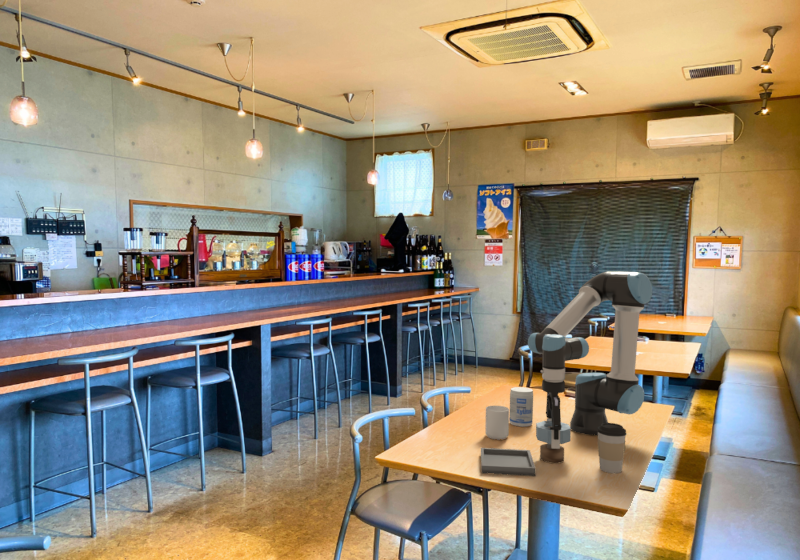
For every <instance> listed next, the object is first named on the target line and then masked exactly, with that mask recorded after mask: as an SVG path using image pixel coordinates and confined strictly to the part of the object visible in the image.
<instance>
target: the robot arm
mask: <svg viewBox="0 0 800 560" xmlns="http://www.w3.org/2000/svg"><path fill="white" fill-rule="evenodd" d="M652 296H653V286H652V282H651V279H649V277H648V276H647V274H645V273H643V272H637V271H611V270H609V271H603V272H601V273H599V274H597V275H595V276H593V277H592V278H590V279H589V280H588V281H586V282H585V283H584V284H583V285H582V286H581V287H580V288H579V290H578V294H577V295H576V296H574V298H573V299H571V301H570V302H569V303H568V304H567V305H565V307H564V308H563V309H562V310H561V312H559V313H558V315H557V316H555V318H554V319H553V320H552V321H551V322H550V323H549V324H548V325H547V326H546V327H544V329H543V330H542V331H541V332H533V333H531V334H530V335H529V336H528V339H527V347H528V349H529V350H530V351H531V353H532V352H533V353H535V354H539V355H542V364H541V365H542V369H541V370H540V373H541V374H542V375H541V376H542V379H543V380H542V381H541V382H542V383H541V387H542V389H541V390H542V391H543V392H544V393H546V407H545V415H546V421H552V427H550V430H551V448H554V449H560V446H561V444H560V430H561V422H562V419H561V418H562V417H561V397H560V396H559V394H561V393H564V392H565V390H566V382H565V381H564V380H565V379H566V362H568V361H573V360H580V359H583V358H585V357H586V356H587V355H588V354H589V352H590V345H589V343H588V341H587V340H586V339H585V338H584V337H580V336H578V337H577V336H574V337H567V336H568V335H569V334H570V332H571V331H572V330H573V329H574V328H575V327H576V326H577V325H578V324H579V323H580V322H581V321H582V320H583V319H584V317H585V316H587V314H588V313H589V312H590V311H591V310H592V309H593V308H594V307H597V306H599V305H600V304H601V303H603V302H606V301H609V302H610V301H611V306H612V308H613V309H615V316H614V327H613V328H614V329H613V340H612V351H611V352H612V353H611V367H610V372H609V373H607V374H606V373H604V372H583V373H579V374H577V375H576V377H575V384H574V387H575V388H574V389H575V390H574V399H575V400H574V411H573V413H572V417H571V419H570V422H569V426H570V428H571V431H573V432H574V433H577V434H580V435H581V434H582V435H586V436H598V431H597V430H598V427H599V426H601V424H603V423H609V420H608V418H607V414H606V410H610V411H613V412H617V413H619V414H623V415H624V414H626V415H633V414H636V413H637V412H638V411H639V409H641V408H642V405H643V403H644V398H645V390H644V388H643V386H641V384H639V381H640V379H639V378H638V377H637V376H636V365H637V364H636V361H637V349H638V338H639V337H638V336H639V323H640V313H641V311H643V310H644V309H645V304H647V303H649V302H650V301H651V298H652ZM555 425H558V426H555Z"/></svg>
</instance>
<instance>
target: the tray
mask: <svg viewBox="0 0 800 560" xmlns="http://www.w3.org/2000/svg"><path fill="white" fill-rule="evenodd" d="M480 465H481V466H480V467H481V474H488V473H494V474H493V475H507V474H508V475H511V476H525V477H526V476H527V477H528V476H529V477H536V465H535V462H534V459H533V457H532V452H531V450H530V449H515V448H513V449H511V448H496V447H495V448H493V447H491V448H490V447H480Z"/></svg>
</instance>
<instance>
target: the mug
mask: <svg viewBox="0 0 800 560" xmlns="http://www.w3.org/2000/svg"><path fill="white" fill-rule="evenodd" d="M509 415H510V408H508V407H507V406H504V405H489V406H486V407H485V435H486V436H487V438H488V439H491V440H495V439H497V440H498V441H500V439H502V440H505V439H506V438H508V436H509V431H510V429H509V428H510V425H509V424H510V422H509Z"/></svg>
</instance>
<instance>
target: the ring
mask: <svg viewBox="0 0 800 560" xmlns="http://www.w3.org/2000/svg"><path fill="white" fill-rule="evenodd" d="M535 425H536V426H535V427H536V428H535V432H536V433H535V437H536V439H537V441H539V442H542V443H544V444H547V443H548V444H551V430H550V428H548V426H552V421H547V420H543V421H540V422H536V423H535ZM555 426H558V425H555ZM571 431H572V430H571V428H570V424H568V423H565V422H562V421H561V430H560V445H564V444H567V443H569V442H572V441H571V439H572V438H571V433H572V432H571Z"/></svg>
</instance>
